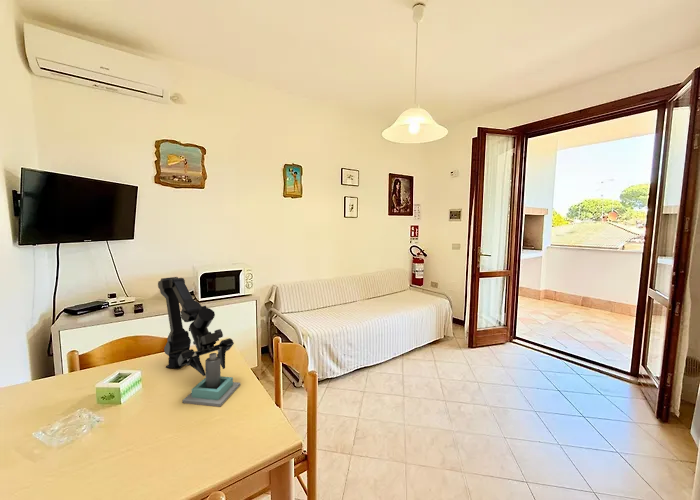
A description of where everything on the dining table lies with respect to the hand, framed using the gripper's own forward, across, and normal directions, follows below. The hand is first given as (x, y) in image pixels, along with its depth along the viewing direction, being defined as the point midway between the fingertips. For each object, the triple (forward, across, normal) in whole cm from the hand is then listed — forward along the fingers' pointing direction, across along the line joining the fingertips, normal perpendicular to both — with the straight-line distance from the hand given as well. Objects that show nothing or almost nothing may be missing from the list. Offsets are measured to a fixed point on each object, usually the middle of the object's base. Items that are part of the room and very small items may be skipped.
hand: (214, 371), depth 106 cm
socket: (+5, 0, +7) cm, 9 cm away
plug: (+4, 0, +6) cm, 8 cm away
